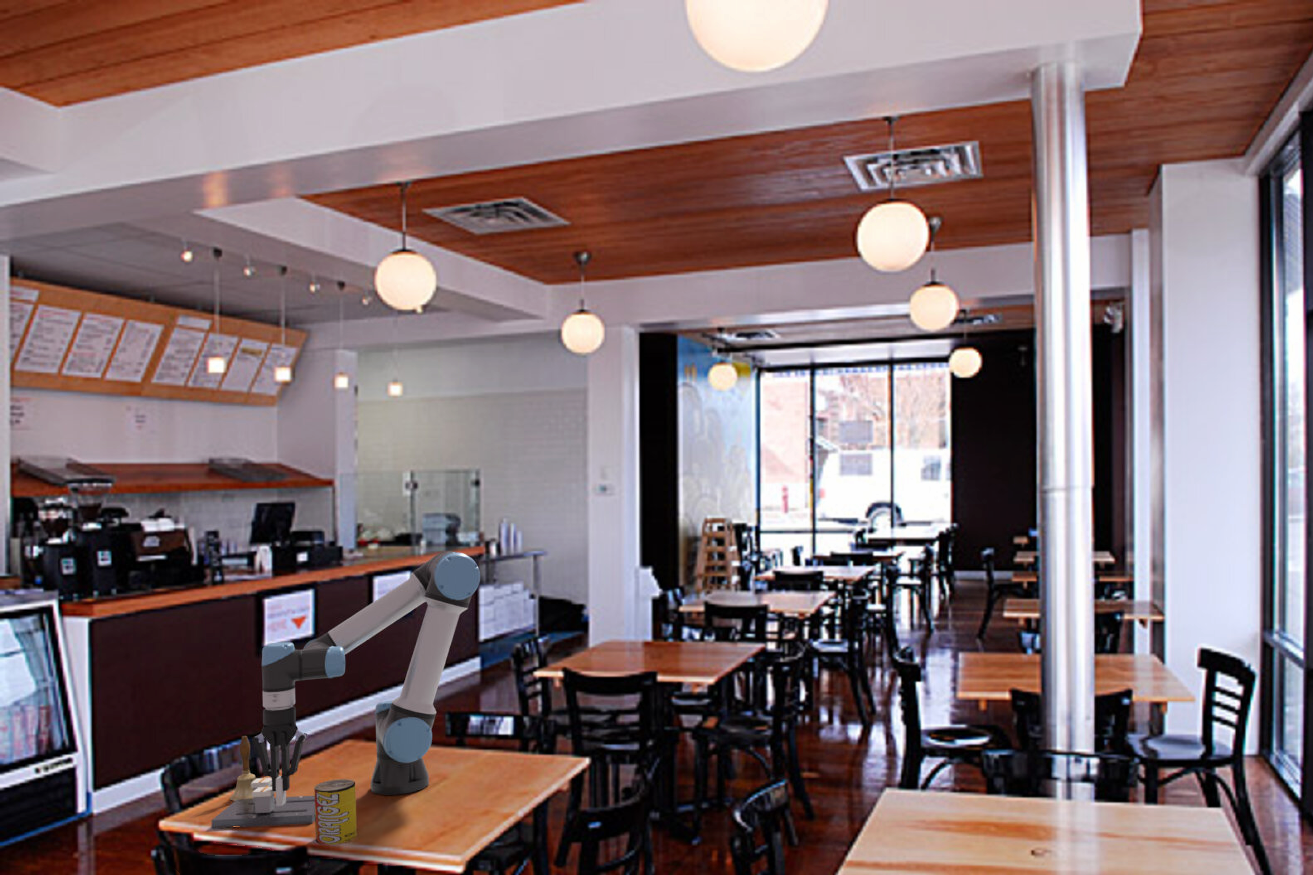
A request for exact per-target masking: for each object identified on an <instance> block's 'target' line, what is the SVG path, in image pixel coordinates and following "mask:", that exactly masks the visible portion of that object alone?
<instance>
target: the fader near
mask: <svg viewBox="0 0 1313 875" xmlns="http://www.w3.org/2000/svg"><path fill="white" fill-rule="evenodd" d="M275 794H276V791H273V790H272V787H268V786H266V787H258V788H257V789H256V790H254V791H253V792H252V797H255V813H268V812H271V811H272V810H273V809H274V798H275Z"/></svg>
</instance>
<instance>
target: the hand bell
mask: <svg viewBox="0 0 1313 875" xmlns="http://www.w3.org/2000/svg"><path fill="white" fill-rule="evenodd" d="M239 753H240V757H241V761H242V774H241V775H239V776H238V777H237V782H236V787H235V789H234V792H233V794H232V795H231V796H230V797H229V800H230V801H231V800H233V801H232V802H234V801H236V800H238V799H254V797H252V792H253V788H251V783H252V782H253V781H254V780H255V779H257V777H256V775H255V774H253V773H251V770H250V760H249V759H250V755H251V744H250V741H249V739H248V736H247V735H242V736H241V740H240V743H239Z"/></svg>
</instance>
